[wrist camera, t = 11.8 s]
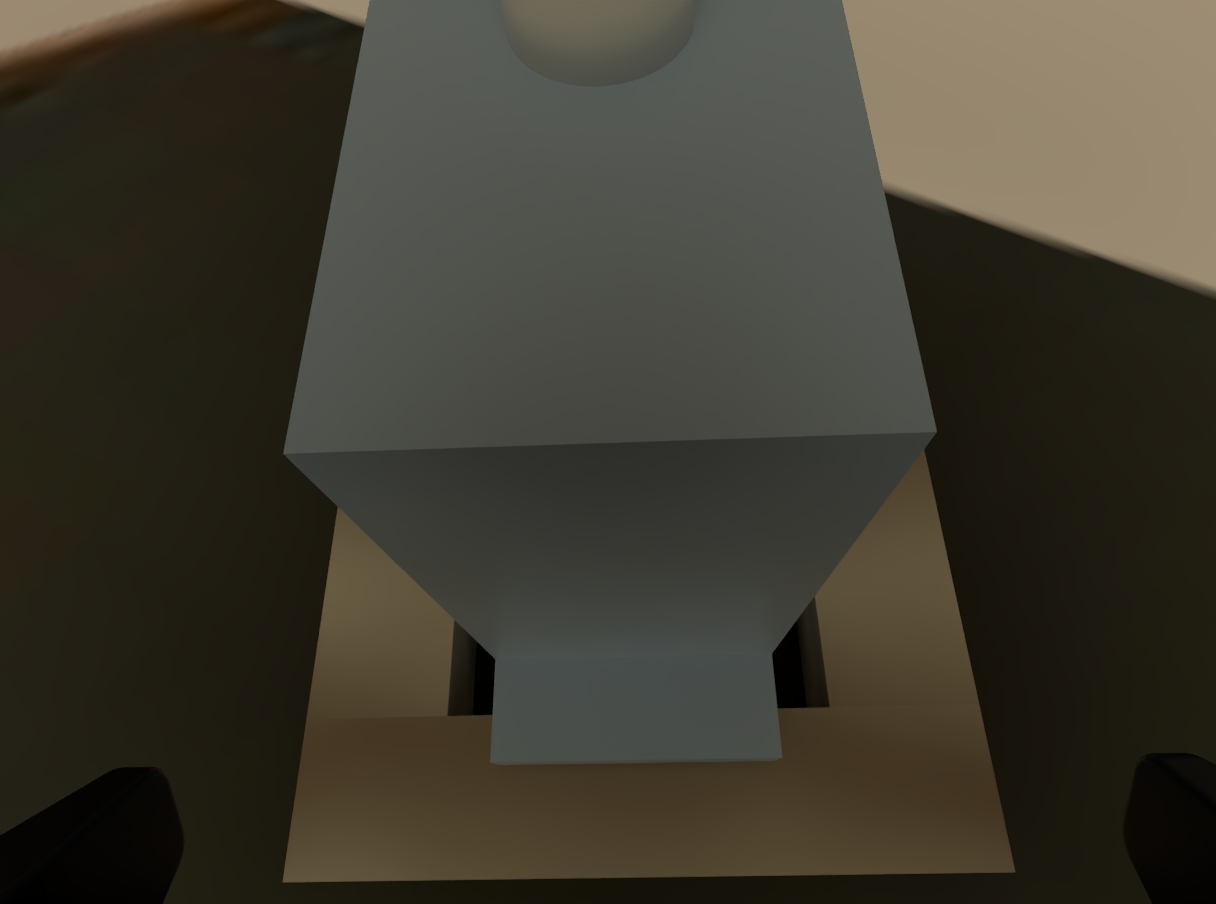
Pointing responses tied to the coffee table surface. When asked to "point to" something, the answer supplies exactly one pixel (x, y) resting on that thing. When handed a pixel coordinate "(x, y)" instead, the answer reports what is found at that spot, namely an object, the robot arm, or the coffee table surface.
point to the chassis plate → (654, 792)
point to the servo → (612, 350)
